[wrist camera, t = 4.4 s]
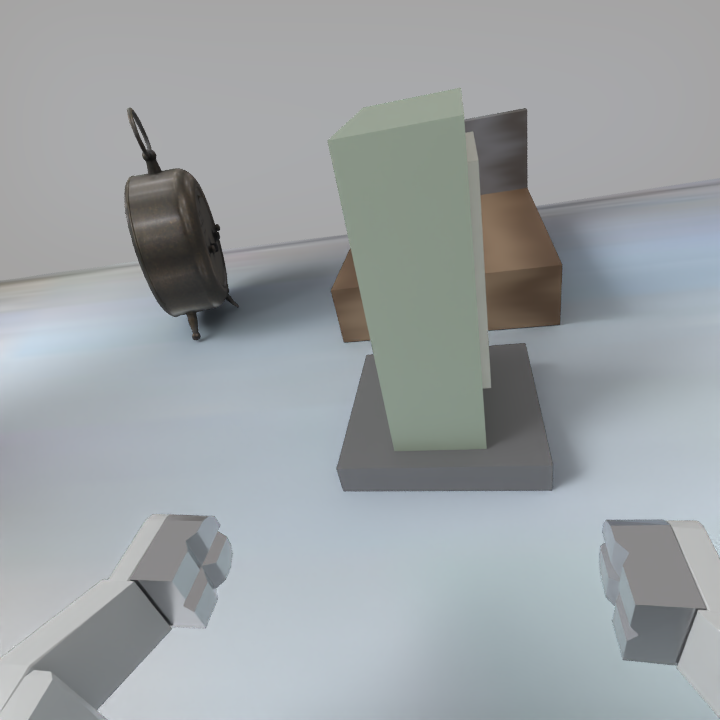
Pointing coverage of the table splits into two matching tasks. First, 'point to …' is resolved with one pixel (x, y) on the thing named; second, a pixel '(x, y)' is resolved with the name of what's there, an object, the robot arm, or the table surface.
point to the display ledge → (491, 238)
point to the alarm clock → (175, 238)
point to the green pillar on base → (429, 313)
